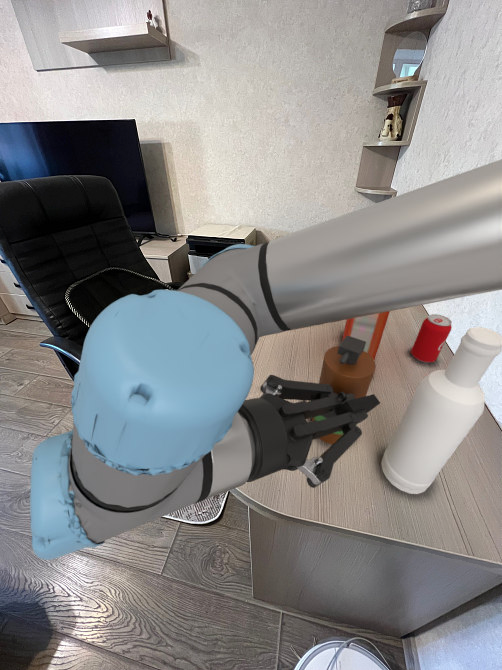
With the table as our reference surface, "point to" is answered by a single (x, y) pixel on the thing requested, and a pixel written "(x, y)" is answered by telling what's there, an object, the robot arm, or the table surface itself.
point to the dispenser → (346, 373)
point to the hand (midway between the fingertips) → (370, 403)
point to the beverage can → (431, 338)
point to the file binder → (367, 330)
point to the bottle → (440, 414)
